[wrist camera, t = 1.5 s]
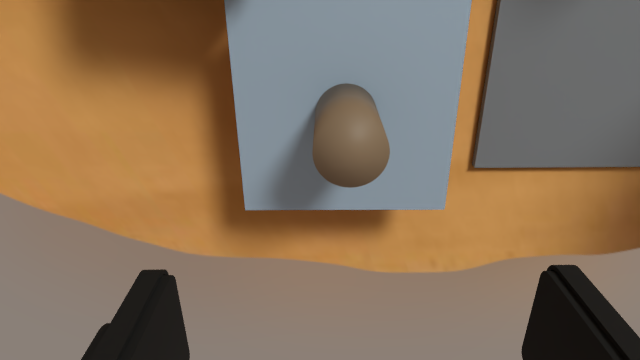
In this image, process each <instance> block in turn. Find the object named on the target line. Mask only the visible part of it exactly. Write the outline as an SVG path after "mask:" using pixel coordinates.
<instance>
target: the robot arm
mask: <svg viewBox="0 0 640 360" xmlns="http://www.w3.org/2000/svg"><path fill="white" fill-rule="evenodd" d="M189 355H190V353H189V347H188V342H187V337H186V331H185V327H184V322H183V316H182V311H181V306H180V300H179V295H178V290H177V285H176V280H175V277H174V276H173V275H168V272H167V271H166V270H142V271H141V272H140V273H139V275H138V277H137V279H136V280H135V282H134V284H133V286H132V287H131V289H130V291H129V292H128V294H127V296H126V297H125V299H124V301H123V303H122V304H121V306H120V308H119V309H118V311H117V313H116V314H115V316H114V318H113V320H112V321H111V323H107V324H105V325H103V326H102V327H101V328H100V330H99V331H98V333H97V334H96V336H95V338H94V339H93V341H92V342H91V344H90V346H89V347H88V349H87V351H86V352H85V354H84V356H83V357H82V359H81V360H189V358H190V356H189ZM522 358H523V360H640V338H639V337H638V336H637V334H636V333H635V332H634V331H633V330H632V329H631V327H630V326H629V325H628V324H627V323H626V322H625V321H624V319H623V318H622V317H621V316H620V315H619V314H618V312H617V311H616V310H615V309H614V308H613V307H612V305H611V304H610V303H609V302H608V301H607V300H606V299H605V298H604V296H603V295H602V294H601V293H600V292H599V291H598V289H597V288H596V287H595V286H594V285H593V284H592V282H591V281H590V280H589V279H588V278H587V277H586V276H585V274H584V273H583V272H582V271H581V270H580V269H579V268H578V267H577V266H575V265H551V266H549V267H548V269H547V271H543V272H542V273H541V275H540V279H539V283H538V287H537V291H536V295H535V299H534V302H533V306H532V310H531V314H530V318H529V323H528V326H527V330H526V334H525V338H524V342H523V346H522Z"/></svg>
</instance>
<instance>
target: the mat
mask: <svg viewBox="0 0 640 360" xmlns="http://www.w3.org/2000/svg"><path fill="white" fill-rule="evenodd" d="M472 165H473V166H474V168H512V167H640V0H497V6H496V13H495V19H494V26H493V32H492V39H491V45H490V52H489V58H488V65H487V71H486V78H485V84H484V91H483V97H482V104H481V110H480V117H479V123H478V130H477V136H476V143H475V149H474V156H473V162H472Z"/></svg>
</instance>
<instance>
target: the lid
mask: <svg viewBox="0 0 640 360" xmlns="http://www.w3.org/2000/svg"><path fill="white" fill-rule="evenodd" d="M471 1H472V0H224V3H225V13H226V23H227V33H228V43H229V53H230V63H231V73H232V83H233V93H234V103H235V113H236V123H237V133H238V143H239V153H240V163H241V173H242V183H243V193H244V203H245V210H432V209H445V201H446V194H447V186H448V178H449V171H450V163H451V155H452V148H453V140H454V132H455V125H456V117H457V109H458V101H459V94H460V86H461V78H462V71H463V63H464V55H465V48H466V40H467V32H468V25H469V17H470V9H471Z"/></svg>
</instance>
